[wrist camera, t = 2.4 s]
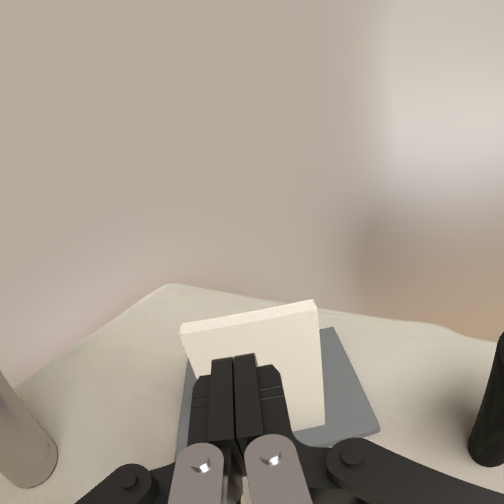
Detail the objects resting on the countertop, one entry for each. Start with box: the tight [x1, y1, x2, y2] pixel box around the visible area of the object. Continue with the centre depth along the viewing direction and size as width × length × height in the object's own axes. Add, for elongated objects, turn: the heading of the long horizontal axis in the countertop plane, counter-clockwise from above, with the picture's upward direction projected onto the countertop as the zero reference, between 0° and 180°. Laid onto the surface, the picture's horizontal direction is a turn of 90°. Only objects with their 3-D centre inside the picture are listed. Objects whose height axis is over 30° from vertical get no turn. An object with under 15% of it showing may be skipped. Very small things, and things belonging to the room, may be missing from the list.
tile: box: [179, 299, 325, 432], centre depth 25 cm, size 10×2×14 cm, turn 94°
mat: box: [175, 327, 380, 461], centre depth 34 cm, size 20×18×1 cm
